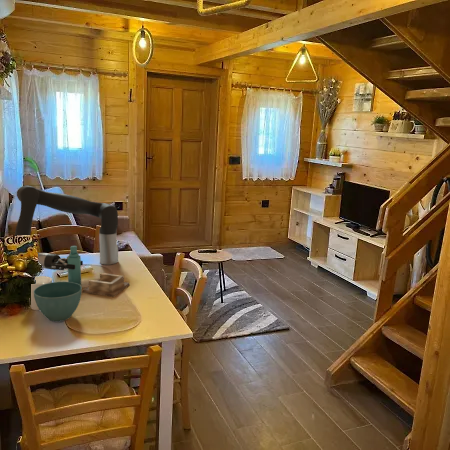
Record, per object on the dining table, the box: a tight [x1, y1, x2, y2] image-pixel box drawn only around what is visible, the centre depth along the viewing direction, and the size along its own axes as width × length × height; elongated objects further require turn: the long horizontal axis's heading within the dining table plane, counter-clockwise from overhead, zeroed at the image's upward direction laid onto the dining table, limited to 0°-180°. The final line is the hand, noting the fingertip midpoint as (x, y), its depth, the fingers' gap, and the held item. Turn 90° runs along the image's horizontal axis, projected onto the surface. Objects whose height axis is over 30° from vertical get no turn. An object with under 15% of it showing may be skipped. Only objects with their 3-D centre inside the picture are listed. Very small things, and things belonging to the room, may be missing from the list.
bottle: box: [66, 245, 82, 286], centre depth 221 cm, size 6×6×19 cm
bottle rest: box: [82, 272, 130, 298], centre depth 219 cm, size 16×16×5 cm
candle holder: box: [29, 275, 53, 311], centre depth 195 cm, size 10×10×12 cm
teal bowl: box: [34, 281, 83, 323], centre depth 185 cm, size 18×18×12 cm
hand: (78, 265), depth 220 cm, fingers closed on bottle, 6 cm apart
